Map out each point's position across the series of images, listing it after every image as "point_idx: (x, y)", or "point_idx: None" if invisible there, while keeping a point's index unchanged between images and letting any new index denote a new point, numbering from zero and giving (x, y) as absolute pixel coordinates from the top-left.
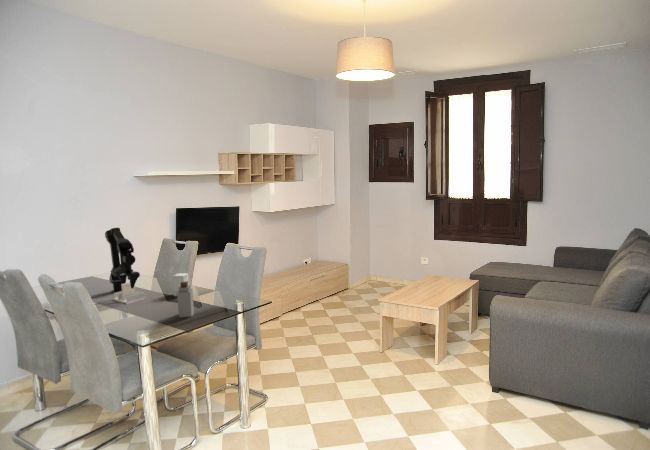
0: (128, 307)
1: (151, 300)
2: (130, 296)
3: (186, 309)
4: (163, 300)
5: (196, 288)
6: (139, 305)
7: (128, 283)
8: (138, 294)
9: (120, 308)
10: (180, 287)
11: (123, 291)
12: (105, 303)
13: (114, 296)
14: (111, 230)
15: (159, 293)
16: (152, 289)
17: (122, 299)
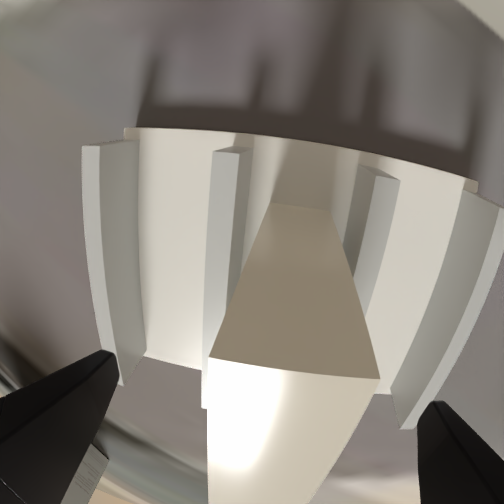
0: (35, 77)
1: (61, 318)
2: (85, 203)
3: None
4: (18, 338)
5: (122, 495)
6: (12, 173)
7: (215, 469)
8: (100, 320)
9: (72, 11)
10: None
11: (278, 248)
12: (423, 23)
13: (474, 195)
14: None
15: (191, 453)
16: (328, 487)
17: (246, 148)
